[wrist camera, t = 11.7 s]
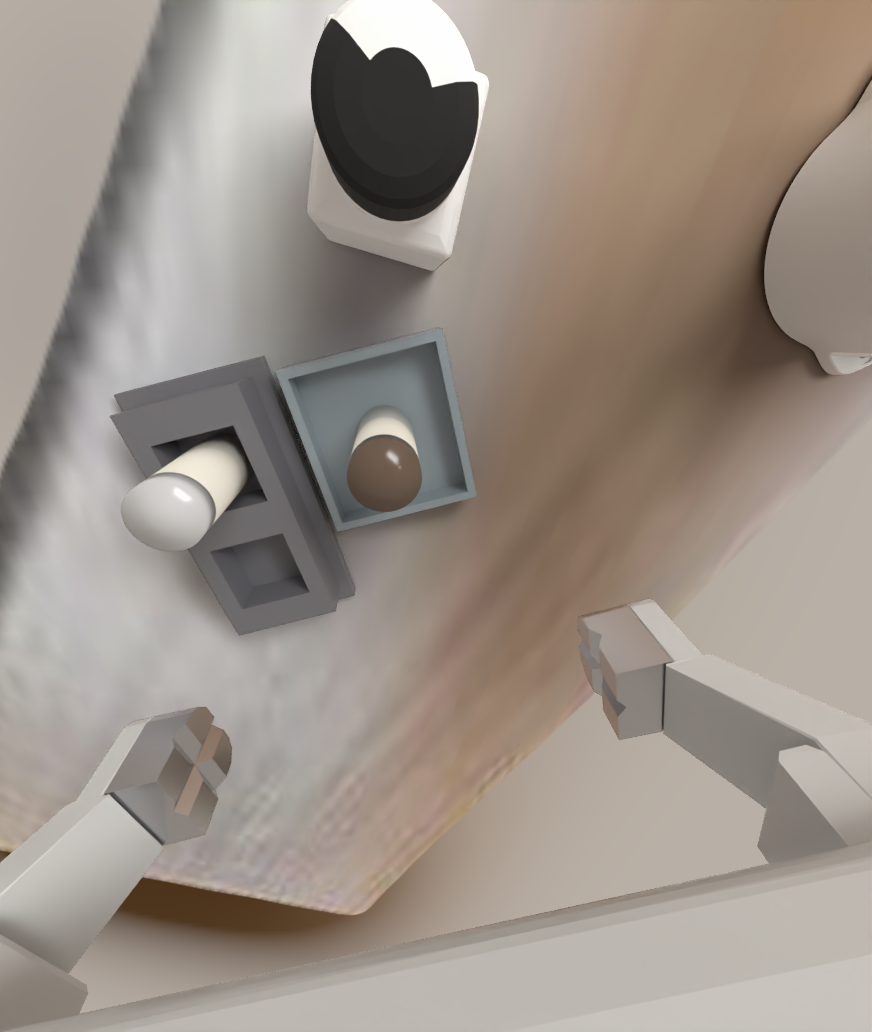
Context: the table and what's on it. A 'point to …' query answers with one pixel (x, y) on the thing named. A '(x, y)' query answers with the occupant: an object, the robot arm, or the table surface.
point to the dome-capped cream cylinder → (187, 494)
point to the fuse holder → (245, 494)
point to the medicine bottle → (393, 129)
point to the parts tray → (370, 383)
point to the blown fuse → (384, 461)
